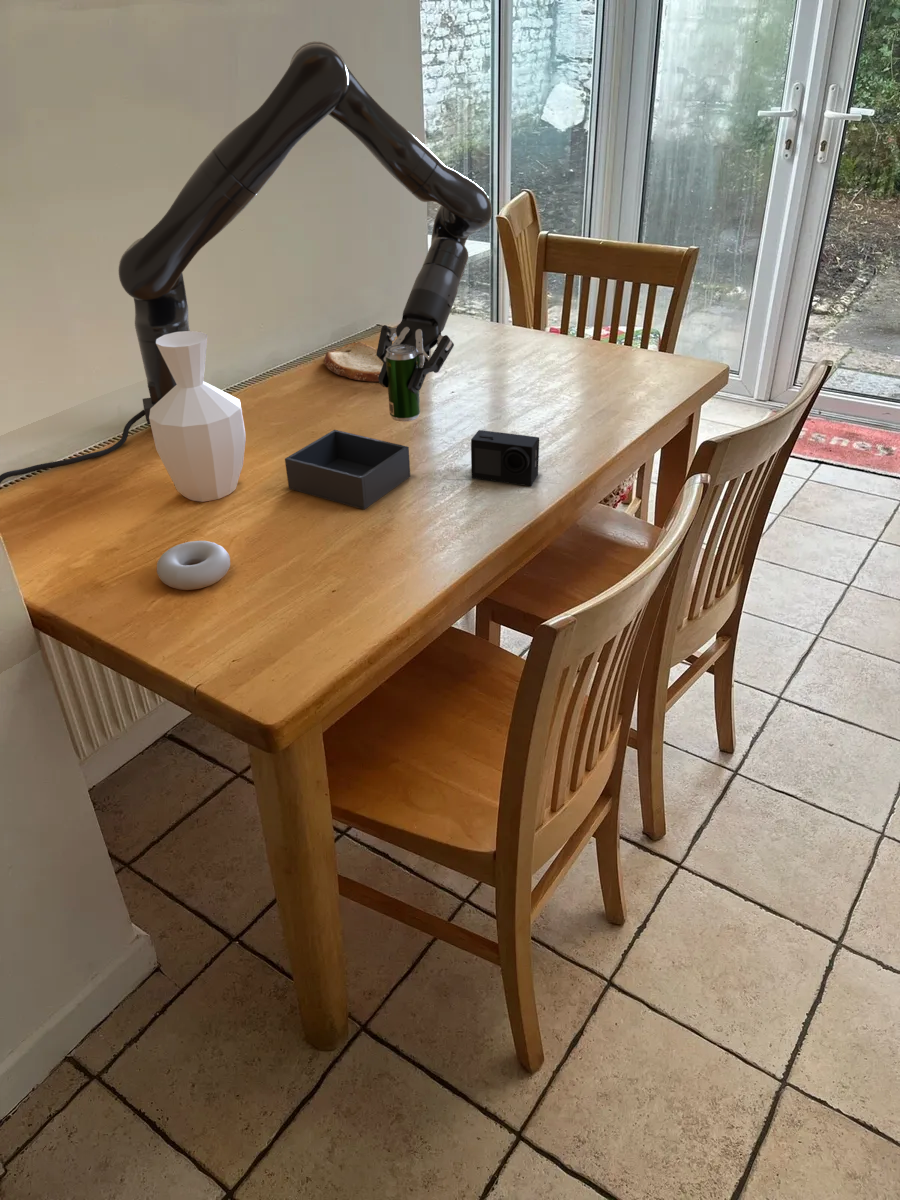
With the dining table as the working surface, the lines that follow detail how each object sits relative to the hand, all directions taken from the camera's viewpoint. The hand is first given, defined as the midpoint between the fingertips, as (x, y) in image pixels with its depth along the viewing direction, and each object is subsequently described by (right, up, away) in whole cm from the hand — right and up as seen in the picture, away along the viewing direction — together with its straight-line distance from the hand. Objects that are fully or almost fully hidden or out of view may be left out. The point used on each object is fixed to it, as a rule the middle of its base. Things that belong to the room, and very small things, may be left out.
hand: (397, 387), depth 152 cm
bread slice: (-10, +14, +41) cm, 45 cm away
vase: (-30, -18, -5) cm, 36 cm away
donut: (-27, -33, -27) cm, 50 cm away
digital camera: (+18, -16, -5) cm, 24 cm away
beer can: (+1, -4, +5) cm, 6 cm away
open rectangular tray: (-8, -17, -5) cm, 19 cm away
